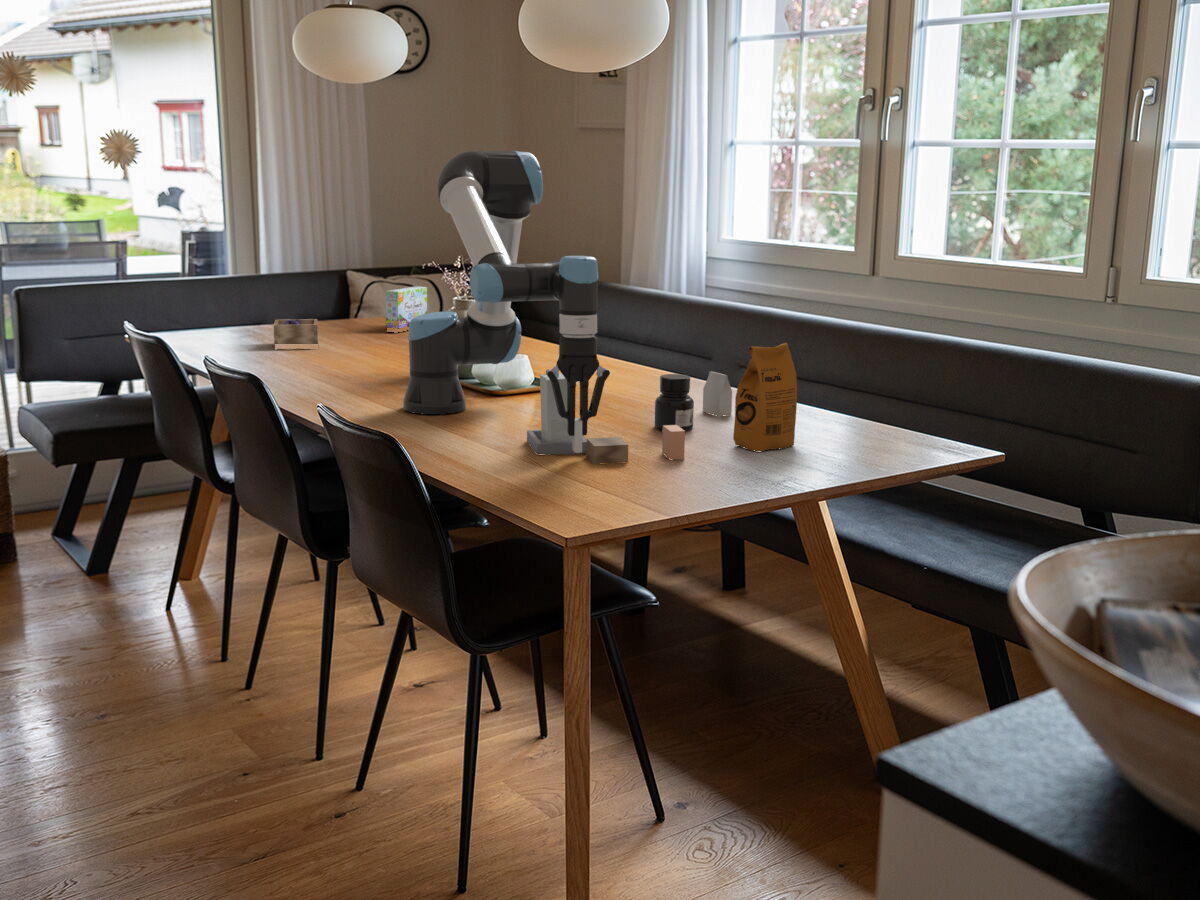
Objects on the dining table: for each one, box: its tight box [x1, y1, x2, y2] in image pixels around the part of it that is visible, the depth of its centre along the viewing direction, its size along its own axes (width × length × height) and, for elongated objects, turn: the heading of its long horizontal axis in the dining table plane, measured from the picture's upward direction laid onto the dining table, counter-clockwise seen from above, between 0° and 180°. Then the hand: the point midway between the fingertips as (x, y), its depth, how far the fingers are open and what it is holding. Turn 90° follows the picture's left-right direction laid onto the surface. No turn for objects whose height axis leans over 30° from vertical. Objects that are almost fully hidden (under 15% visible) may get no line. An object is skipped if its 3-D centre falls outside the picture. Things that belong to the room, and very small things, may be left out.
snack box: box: [385, 285, 428, 329], centre depth 427 cm, size 21×6×15 cm, turn 159°
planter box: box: [273, 318, 319, 345], centre depth 385 cm, size 14×14×8 cm
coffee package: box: [732, 342, 798, 452], centre depth 252 cm, size 10×12×22 cm
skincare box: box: [539, 372, 572, 442], centre depth 249 cm, size 8×6×15 cm
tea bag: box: [702, 371, 733, 417], centre depth 287 cm, size 4×7×10 cm, turn 31°
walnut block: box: [586, 436, 629, 465], centre depth 241 cm, size 7×7×4 cm
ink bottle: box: [654, 373, 695, 431], centre depth 270 cm, size 10×9×12 cm
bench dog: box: [661, 425, 686, 460], centre depth 244 cm, size 3×6×6 cm, turn 13°
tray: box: [526, 429, 587, 455], centre depth 251 cm, size 11×13×2 cm
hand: (577, 450), depth 240 cm, fingers closed
